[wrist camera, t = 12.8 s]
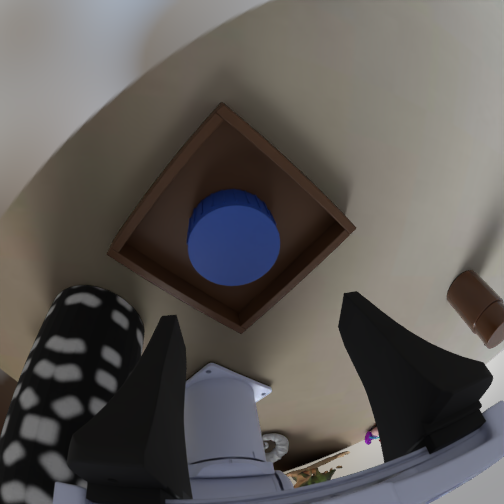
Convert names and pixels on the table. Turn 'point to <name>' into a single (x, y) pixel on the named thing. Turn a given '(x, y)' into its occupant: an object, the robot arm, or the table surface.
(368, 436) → the anatomy model
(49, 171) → the table surface
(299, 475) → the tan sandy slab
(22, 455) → the spotted tube
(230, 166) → the tray
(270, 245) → the jar lid
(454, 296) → the jar
